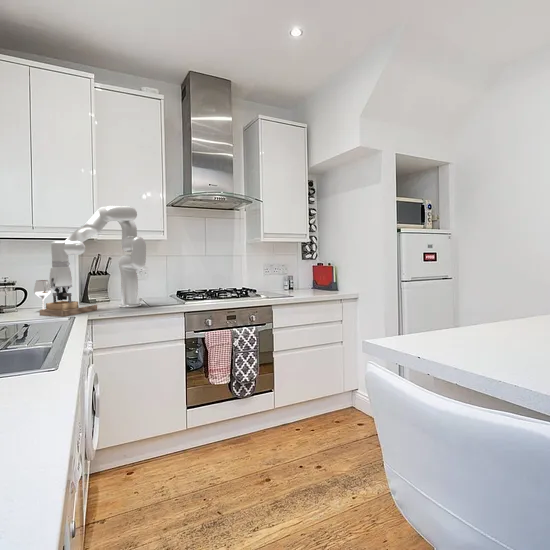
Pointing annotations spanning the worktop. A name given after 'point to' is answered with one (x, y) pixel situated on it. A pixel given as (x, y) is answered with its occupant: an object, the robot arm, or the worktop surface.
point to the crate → (62, 303)
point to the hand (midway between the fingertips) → (62, 299)
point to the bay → (67, 311)
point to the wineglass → (42, 289)
